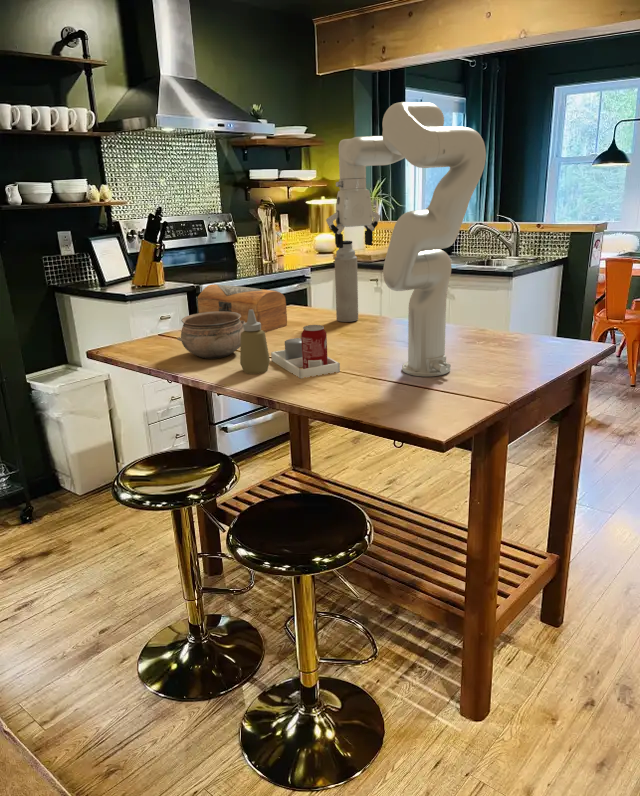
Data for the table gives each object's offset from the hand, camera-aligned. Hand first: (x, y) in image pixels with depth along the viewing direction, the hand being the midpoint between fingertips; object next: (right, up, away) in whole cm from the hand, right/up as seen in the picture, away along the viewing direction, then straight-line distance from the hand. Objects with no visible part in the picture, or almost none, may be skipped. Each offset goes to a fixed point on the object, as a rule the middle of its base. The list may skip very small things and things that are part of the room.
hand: (354, 246), depth 187 cm
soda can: (-11, -38, -15) cm, 42 cm away
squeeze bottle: (-28, -39, -13) cm, 49 cm away
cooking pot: (-42, -33, +4) cm, 53 cm away
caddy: (-14, -37, -11) cm, 41 cm away
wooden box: (-38, -19, +42) cm, 60 cm away
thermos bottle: (0, -16, +44) cm, 47 cm away
